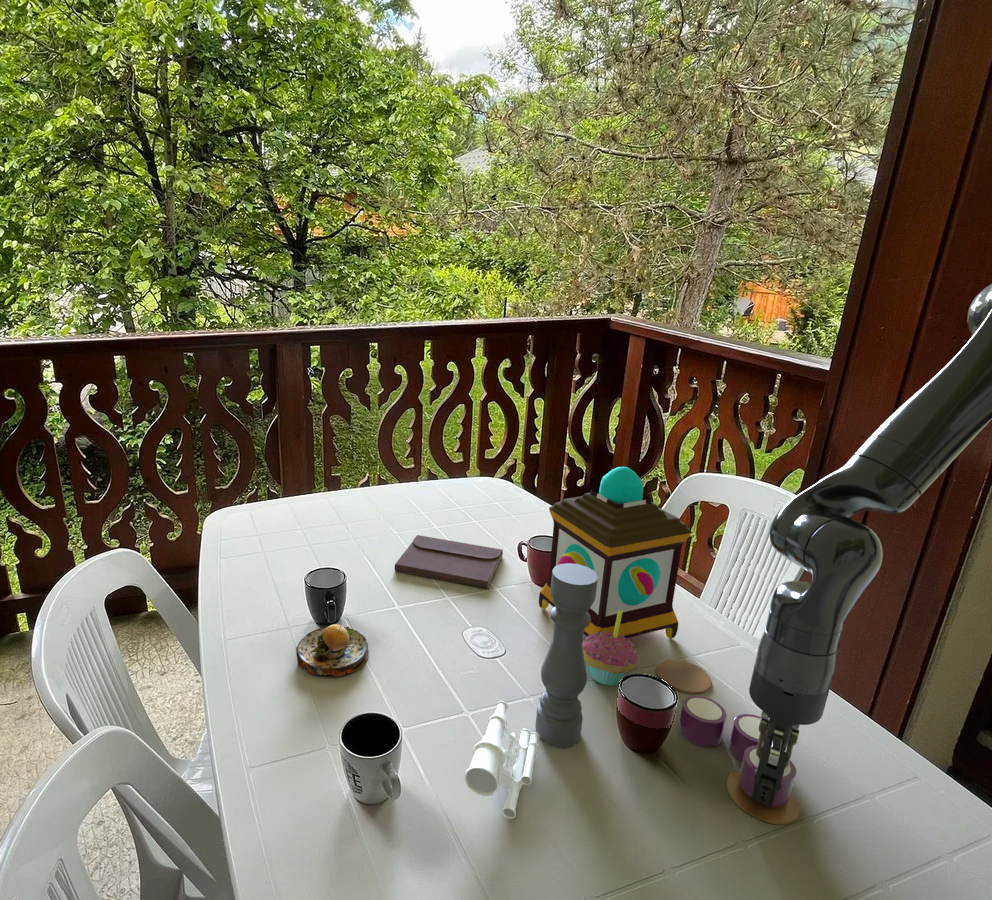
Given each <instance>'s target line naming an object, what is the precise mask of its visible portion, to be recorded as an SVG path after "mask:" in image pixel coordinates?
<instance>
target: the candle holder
mask: <svg viewBox="0 0 992 900" xmlns="http://www.w3.org/2000/svg"><path fill="white" fill-rule="evenodd" d="M597 581H598V576H597V573H595V572H594V571H593V570H592V569H590V568H588V567H586V566H583V565H579V564H572V563H566V564H560V565H557V566H555V567H554V569H553V570H552V580H551V590H550V592H551V596H552V600H553V602H554V604H555V607H553V606H552V608H551V609H550V610H549V614H550V620H551V621H552V622H553V633H552V640H551V642H550V645H549V648H548V650H547V653H546V656H545V658H544V660H543V663H542V666H541V668H540V677H541V682H542V684H543V686H544V689H545V691H543V693H542V694H541V695H540V697H539V703H538V704H537V707H536V714H535V715H536V716H535V725H534V726H535V732H537V733H538V734H539V735H540V739H539V740H542V741H543V742H544V743H545V744H546V745H549V746H551V747H553V748H559V749H560V748H561V749H566V748H567V749H568V748H572V747H574V746H575V745H577V744H578V743H579V742H580V739H581V734H582V726H583V719H584V717H583V713H582V710H583V707H582V703H581V701H580V699H579V698H578V697H579V695H581V694H582V693H583V691H584V689H585V688H586V685H587V683H588V675H587V668H586V661H585V660H584V654H583V647H582V645H583V640H584V636H585V635H584V629H585V627H587V626H588V625H589V623H590V622H591V617H590V614H589V613H588V612H587V611H588V609H590V608H591V606H592V604H593V602H594V601H595V598H596V589H597Z"/></svg>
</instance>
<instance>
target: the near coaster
mask: <svg viewBox="0 0 992 900" xmlns="http://www.w3.org/2000/svg"><path fill="white" fill-rule="evenodd" d="M739 773H740V769H738V770H735V771H733V772H731V773H730V774H729V775H728V776H727V779H726V791H727V793H728V795H729V797H730V799H731V800H732V801H733V803H735V804H736V806H737V807H738V808H739V809H741V810H742V811H743V812H745V813H746V814H747V815H749V816H751V817H753V818H755V819H757V820H758V821H761V822H764V823H767V824H772V825H779V826H781V825H782V826H783V825H789V824H792V823H794V822H796V821H797V820H798V819H799V817H800V813H801V805H800V802H799V799H798V798H797V796H796V795H795V793H794V792H793V791H792V792H791V796H790V800H789V802H788V803H787V804H786V805H784V806H780V807H773V806H772V807H767V806H764V805H762V804H760V803H758V802H755V801H754V800H753V799H752V798H751V797H750V796H748V795H747V794H746V793H745V792H744V791H743V789H742V788H741V786H740V784H739V780H738V778H739Z"/></svg>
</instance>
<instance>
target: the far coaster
mask: <svg viewBox="0 0 992 900" xmlns="http://www.w3.org/2000/svg"><path fill="white" fill-rule="evenodd" d="M655 672H656V676H657V678H658V679H659V678H660V679H663V680H664V681H666V682H667V683H668V684H669V685H670V686H672V688H671V689H673V688H674V689H673V690H674V691H678V692H680V693H684V694H689V695H690V694H691V695H699V694H703V693H706V692H708V691H709V690H710V688H711V687H712V679H711V676H710V674H708V673H707V671H705V669H703V668H702V667H700V666H698V665H696V664H694V663H693V662H690V661H686V660H682V659H674V658H671V659H664V660H662V661H660V662H659V663H658V664H657V665H656V668H655ZM660 679H659V680H660Z"/></svg>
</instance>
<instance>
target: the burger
mask: <svg viewBox="0 0 992 900" xmlns="http://www.w3.org/2000/svg"><path fill="white" fill-rule="evenodd" d="M369 652H370V651H369V643H368V640H367V638H366V637H365V636H364V634H362V633H361V632H359V631H358V630H355V629H354V628H351V627H349V626H343V625H342V624H337V623H334V624H331V625H329V626H326V627H325V626H324V627H321V628H316V629H315V630H312V631H310V632H308V633H307V634H306V635H305V636H304V637H303V638H301V640H300V641H298V644H297V646H296V647H295V653H296V661H297V665H298V666H299V667H300V669H301V670H302V671H303V670H305V667H306V669H307V671H308V672H309V673H310V674H311V675H312V676H316V675H317V676H318V677H321V676H328V675H332V676H333V677H335V678H337V677H343V676H344V675H345V674H346V673H348V674H349V675H350V674H352V673H354V672H357V671H359V669H361V668H362V667H363V666H364V665H365V663H366V662H367V661H368V659H369V655H370V653H369Z"/></svg>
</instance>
